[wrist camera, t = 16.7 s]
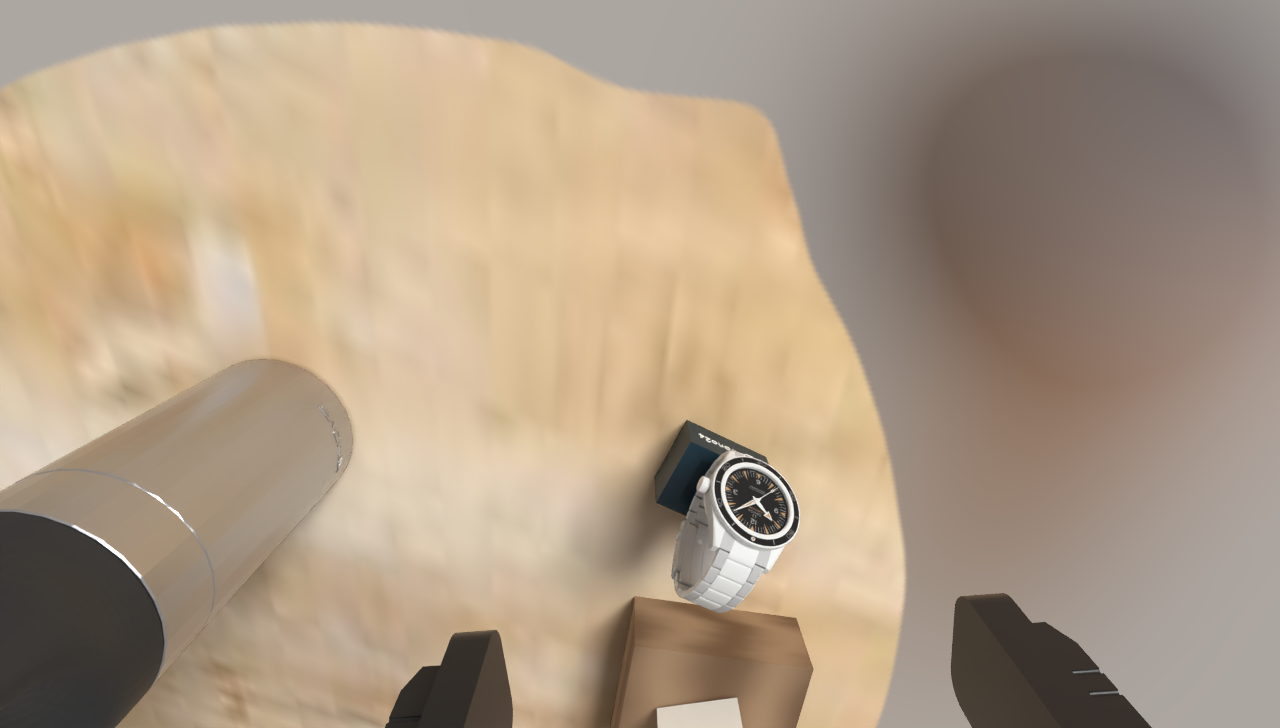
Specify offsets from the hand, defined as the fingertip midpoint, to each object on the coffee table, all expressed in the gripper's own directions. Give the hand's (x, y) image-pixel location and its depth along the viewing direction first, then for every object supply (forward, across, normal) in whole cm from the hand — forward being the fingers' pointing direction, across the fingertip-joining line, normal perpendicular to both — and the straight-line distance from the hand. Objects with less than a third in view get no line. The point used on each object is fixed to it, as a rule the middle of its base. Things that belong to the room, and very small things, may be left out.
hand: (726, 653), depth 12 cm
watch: (+28, -2, +11) cm, 30 cm away
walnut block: (+28, 0, +26) cm, 39 cm away
